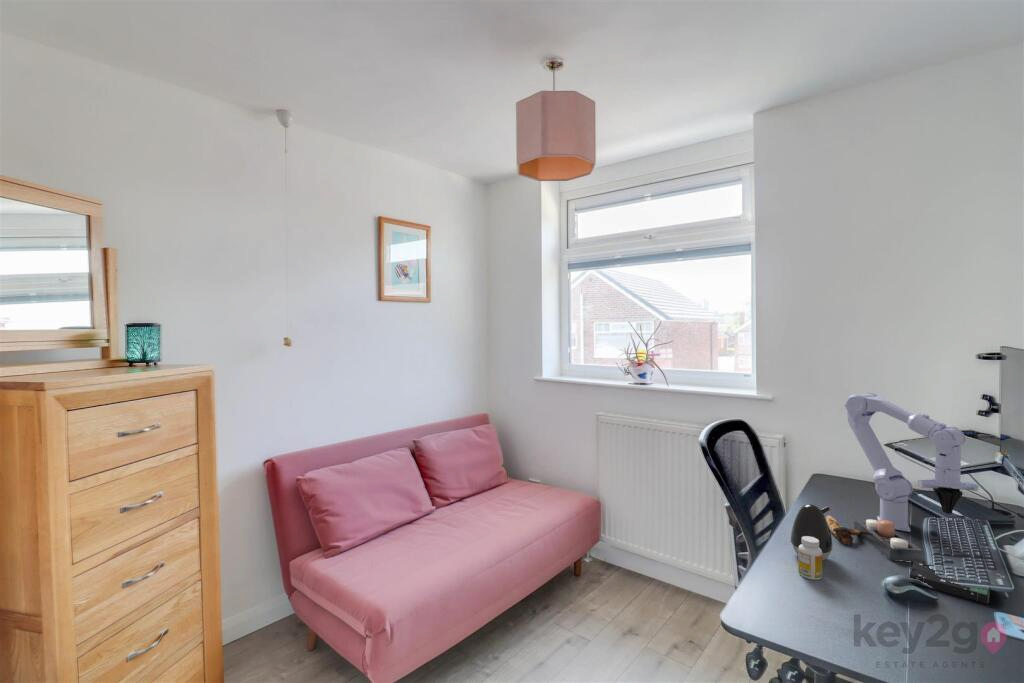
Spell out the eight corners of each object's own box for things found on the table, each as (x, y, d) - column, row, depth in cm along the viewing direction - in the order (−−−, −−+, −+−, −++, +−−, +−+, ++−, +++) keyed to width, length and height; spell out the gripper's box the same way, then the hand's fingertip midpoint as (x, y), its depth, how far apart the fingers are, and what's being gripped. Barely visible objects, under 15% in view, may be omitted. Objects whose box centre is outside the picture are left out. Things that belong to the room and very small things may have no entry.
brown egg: (874, 532, 148) (875, 519, 148) (889, 533, 147) (890, 520, 147) (881, 537, 144) (882, 524, 144) (897, 538, 144) (897, 525, 143)
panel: (854, 530, 157) (854, 519, 157) (882, 532, 155) (882, 521, 155) (889, 560, 137) (890, 548, 137) (922, 563, 135) (922, 550, 135)
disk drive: (909, 585, 125) (990, 606, 115) (909, 574, 125) (989, 595, 115) (913, 570, 132) (990, 589, 122) (913, 560, 132) (989, 578, 122)
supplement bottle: (818, 572, 131) (819, 536, 130) (824, 581, 126) (824, 544, 125) (796, 568, 132) (796, 533, 132) (800, 578, 127) (801, 541, 127)
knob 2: (887, 550, 142) (887, 537, 141) (903, 552, 141) (903, 538, 141) (894, 557, 138) (895, 543, 138) (911, 558, 137) (911, 544, 137)
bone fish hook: (872, 551, 144) (850, 526, 161) (873, 535, 144) (851, 512, 161) (835, 546, 147) (818, 521, 164) (836, 531, 146) (818, 508, 164)
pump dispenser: (842, 565, 134) (842, 510, 134) (806, 566, 134) (806, 511, 133) (816, 548, 144) (816, 497, 144) (782, 549, 144) (783, 498, 143)
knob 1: (863, 531, 155) (863, 518, 155) (877, 532, 154) (877, 519, 154) (869, 536, 151) (870, 523, 151) (884, 537, 150) (884, 524, 150)
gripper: (928, 470, 144) (927, 515, 145) (986, 473, 141) (985, 519, 141) (914, 463, 151) (913, 507, 151) (968, 466, 148) (968, 510, 148)
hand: (947, 512), depth 147 cm, fingers closed
